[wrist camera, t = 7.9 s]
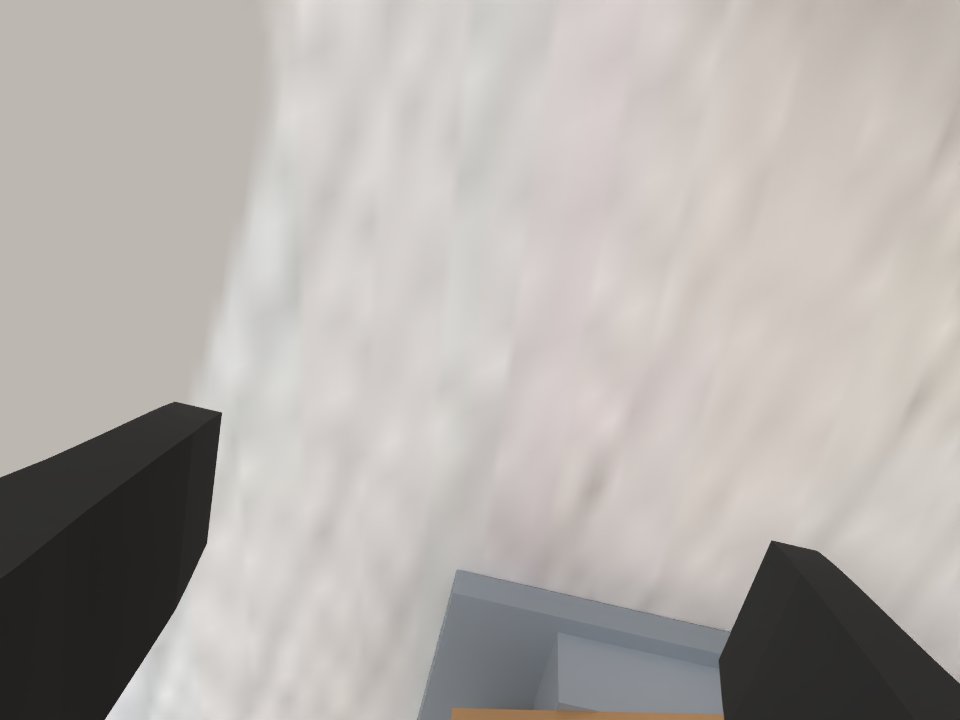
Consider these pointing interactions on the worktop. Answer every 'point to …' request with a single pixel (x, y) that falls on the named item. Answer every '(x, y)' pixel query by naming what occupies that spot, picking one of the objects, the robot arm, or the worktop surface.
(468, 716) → the tan c-shaped bracket
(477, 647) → the display stand
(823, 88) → the worktop surface
